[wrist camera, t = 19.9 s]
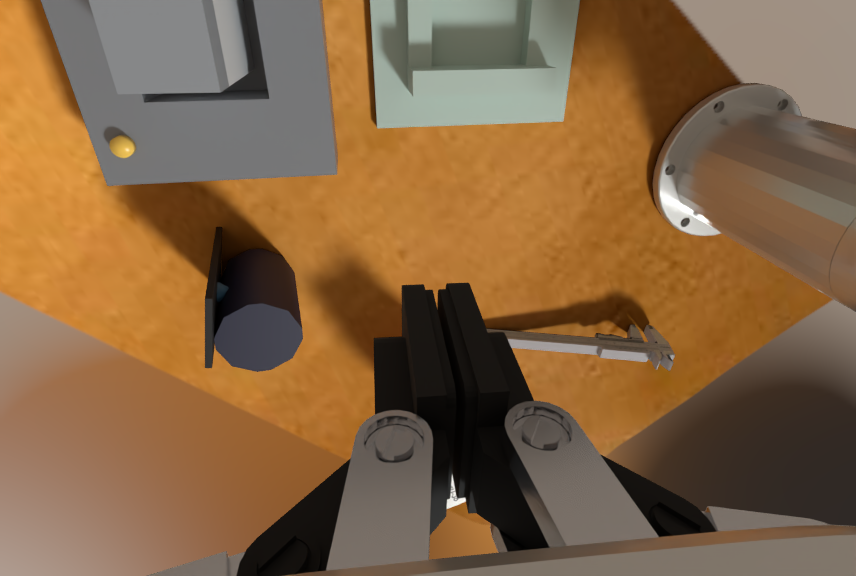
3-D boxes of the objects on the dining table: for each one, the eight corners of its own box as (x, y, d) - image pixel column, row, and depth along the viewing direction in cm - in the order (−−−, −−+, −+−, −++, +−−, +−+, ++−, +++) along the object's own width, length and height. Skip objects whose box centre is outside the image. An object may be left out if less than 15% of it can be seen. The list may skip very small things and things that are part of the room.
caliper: (649, 322, 48) (687, 360, 43) (646, 330, 49) (683, 370, 44) (455, 327, 45) (471, 370, 40) (454, 336, 45) (469, 380, 40)
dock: (304, -176, 26) (296, -214, 21) (337, 156, 35) (336, 177, 30) (21, -189, 24) (-52, -234, 19) (135, 164, 33) (103, 188, 29)
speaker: (189, 284, 38) (163, 366, 29) (217, 224, 36) (198, 293, 28) (279, 315, 42) (279, 396, 33) (308, 262, 40) (317, 334, 31)
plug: (235, -43, 28) (188, -67, 19) (254, 69, 31) (220, 92, 22) (153, -45, 27) (67, -70, 19) (181, 70, 30) (117, 94, 22)
